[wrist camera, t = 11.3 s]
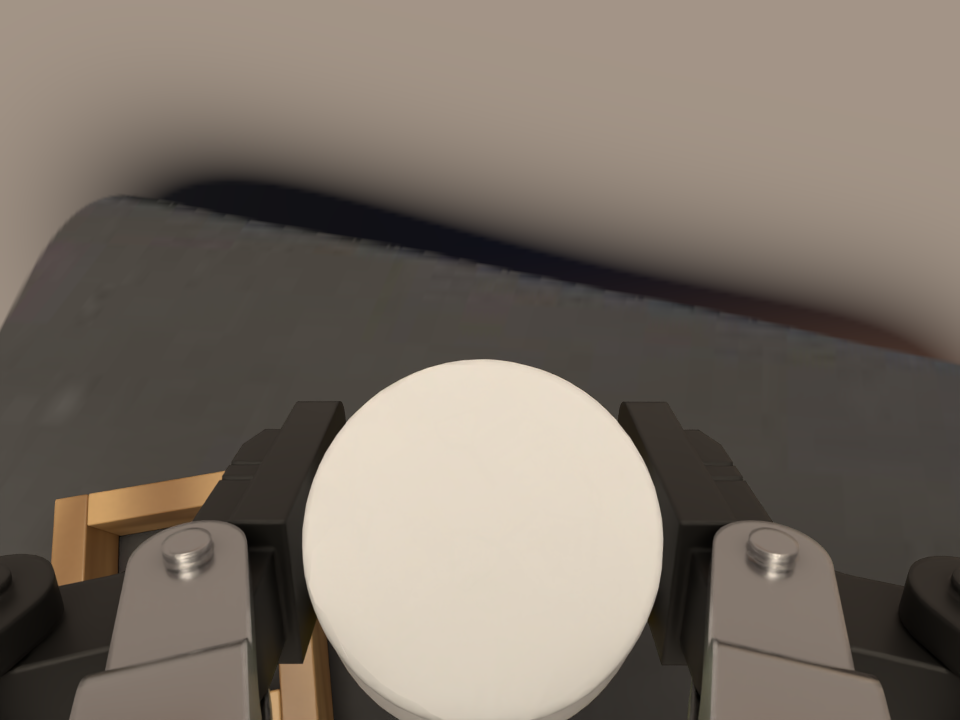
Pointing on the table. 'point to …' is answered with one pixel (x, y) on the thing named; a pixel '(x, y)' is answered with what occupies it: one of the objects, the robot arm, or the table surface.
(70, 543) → the rack
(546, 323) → the table surface
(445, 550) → the supplement bottle
